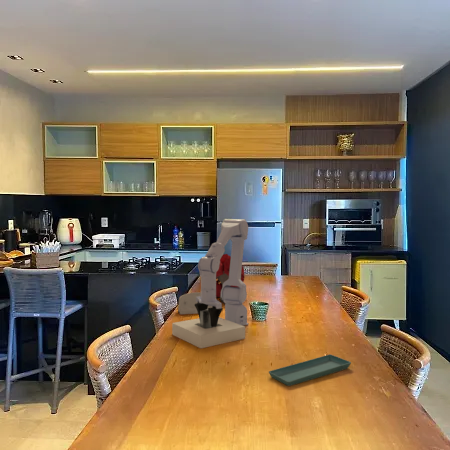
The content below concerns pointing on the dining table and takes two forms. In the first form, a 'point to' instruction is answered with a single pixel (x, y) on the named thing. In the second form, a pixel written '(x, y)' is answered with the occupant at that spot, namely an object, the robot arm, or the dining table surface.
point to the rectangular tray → (309, 369)
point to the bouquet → (224, 274)
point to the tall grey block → (205, 319)
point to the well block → (208, 332)
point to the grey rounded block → (189, 303)
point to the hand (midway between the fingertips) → (208, 323)
